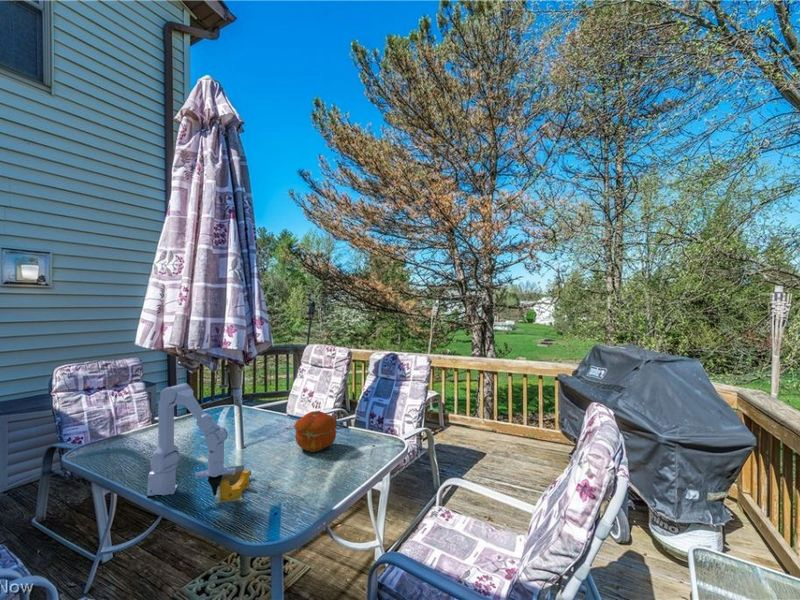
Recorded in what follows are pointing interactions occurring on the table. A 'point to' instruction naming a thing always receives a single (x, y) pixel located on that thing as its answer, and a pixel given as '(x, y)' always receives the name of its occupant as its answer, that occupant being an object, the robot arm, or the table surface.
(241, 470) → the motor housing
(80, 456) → the table surface
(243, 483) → the pipe clamp
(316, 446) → the pumpkin
